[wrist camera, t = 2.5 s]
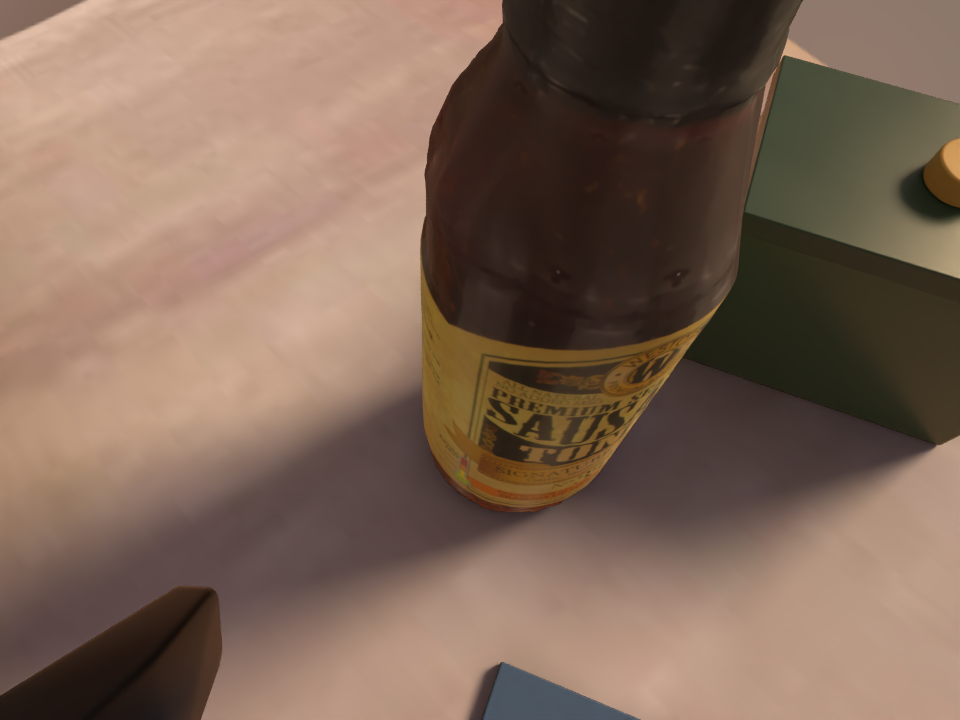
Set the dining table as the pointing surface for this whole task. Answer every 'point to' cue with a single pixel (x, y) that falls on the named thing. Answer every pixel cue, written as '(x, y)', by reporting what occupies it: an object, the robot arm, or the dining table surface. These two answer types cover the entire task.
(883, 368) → the tin box
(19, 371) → the dining table surface
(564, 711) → the blue book
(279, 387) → the dining table surface
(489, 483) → the sauce bottle
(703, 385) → the dining table surface
